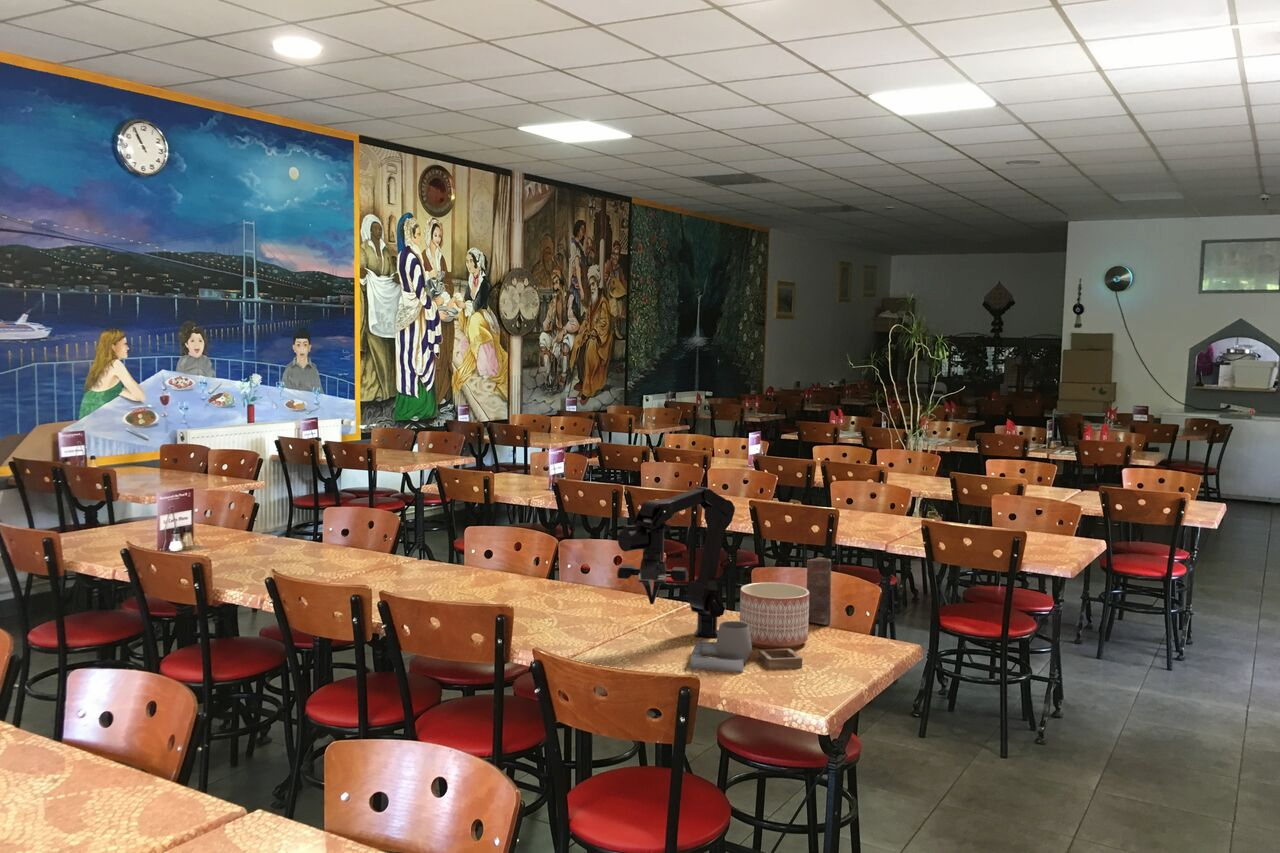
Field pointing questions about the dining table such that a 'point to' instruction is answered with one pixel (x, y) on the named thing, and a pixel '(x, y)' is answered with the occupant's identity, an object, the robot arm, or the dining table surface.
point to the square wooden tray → (779, 658)
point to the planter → (775, 614)
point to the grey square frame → (713, 659)
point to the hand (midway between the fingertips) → (652, 604)
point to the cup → (734, 640)
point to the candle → (819, 590)
